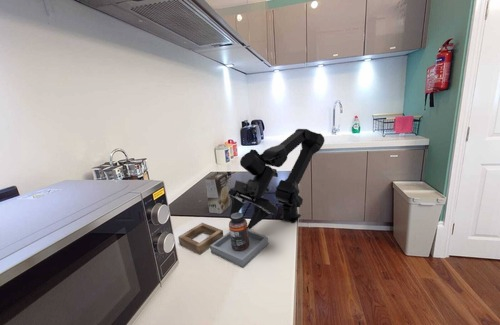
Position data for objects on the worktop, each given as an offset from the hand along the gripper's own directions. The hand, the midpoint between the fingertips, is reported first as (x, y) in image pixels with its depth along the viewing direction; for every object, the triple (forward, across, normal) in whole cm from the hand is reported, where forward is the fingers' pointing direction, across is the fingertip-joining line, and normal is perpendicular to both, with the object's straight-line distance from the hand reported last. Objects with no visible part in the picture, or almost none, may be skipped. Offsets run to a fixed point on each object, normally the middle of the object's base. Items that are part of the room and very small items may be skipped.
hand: (239, 223), depth 73 cm
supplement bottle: (+6, 0, +6) cm, 8 cm away
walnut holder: (+11, -14, +1) cm, 18 cm away
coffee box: (-2, -30, +15) cm, 33 cm away
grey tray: (+7, 0, +6) cm, 9 cm away
